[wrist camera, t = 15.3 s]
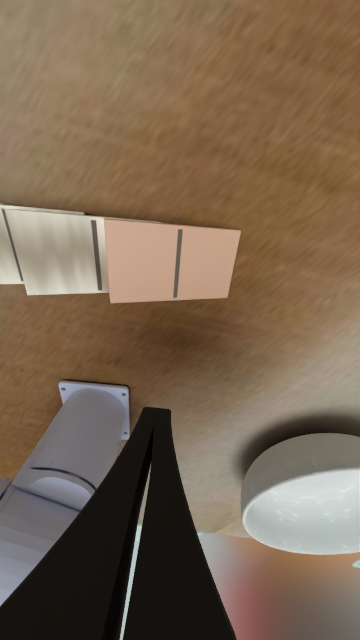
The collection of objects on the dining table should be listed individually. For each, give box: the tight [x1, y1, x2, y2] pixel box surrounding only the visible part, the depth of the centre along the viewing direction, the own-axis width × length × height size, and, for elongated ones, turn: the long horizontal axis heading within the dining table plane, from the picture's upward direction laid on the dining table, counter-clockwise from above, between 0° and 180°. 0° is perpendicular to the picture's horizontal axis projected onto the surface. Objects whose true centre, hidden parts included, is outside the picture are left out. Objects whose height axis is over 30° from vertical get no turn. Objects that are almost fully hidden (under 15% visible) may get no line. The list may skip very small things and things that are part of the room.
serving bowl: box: [241, 433, 360, 554], centre depth 26 cm, size 21×21×7 cm
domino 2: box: [4, 209, 162, 295], centre depth 15 cm, size 5×2×9 cm
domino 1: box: [0, 204, 85, 284], centre depth 14 cm, size 5×2×9 cm
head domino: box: [104, 218, 241, 303], centre depth 15 cm, size 5×2×9 cm
